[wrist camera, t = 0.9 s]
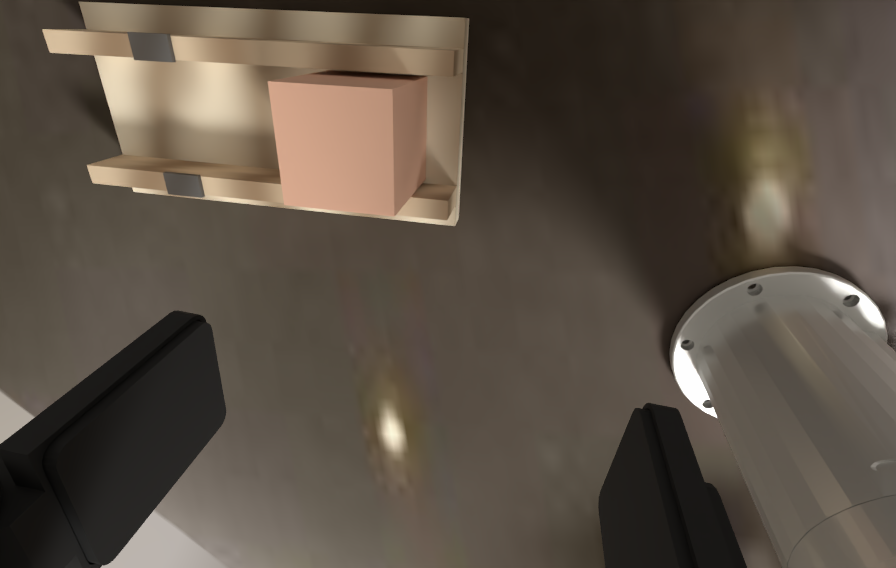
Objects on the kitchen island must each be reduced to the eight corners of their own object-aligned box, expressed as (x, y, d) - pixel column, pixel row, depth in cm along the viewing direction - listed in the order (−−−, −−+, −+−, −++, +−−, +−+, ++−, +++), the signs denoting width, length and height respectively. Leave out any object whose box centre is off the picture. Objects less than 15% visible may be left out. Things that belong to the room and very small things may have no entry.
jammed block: (427, 76, 27) (392, 89, 21) (425, 179, 30) (394, 216, 24) (328, 70, 28) (267, 81, 22) (336, 170, 31) (284, 205, 25)
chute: (469, 18, 27) (454, 16, 23) (458, 218, 32) (445, 245, 28) (98, 2, 30) (26, -2, 26) (148, 185, 36) (96, 206, 32)
